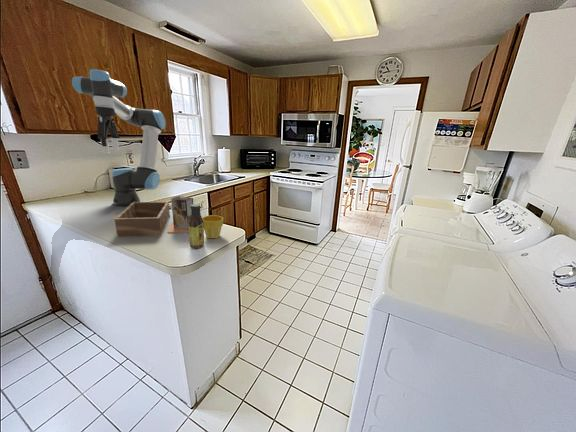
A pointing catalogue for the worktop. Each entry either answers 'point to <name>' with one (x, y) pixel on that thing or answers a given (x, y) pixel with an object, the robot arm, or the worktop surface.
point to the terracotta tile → (177, 229)
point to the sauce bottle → (196, 228)
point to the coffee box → (181, 211)
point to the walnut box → (142, 219)
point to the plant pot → (212, 225)
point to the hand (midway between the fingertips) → (111, 152)
